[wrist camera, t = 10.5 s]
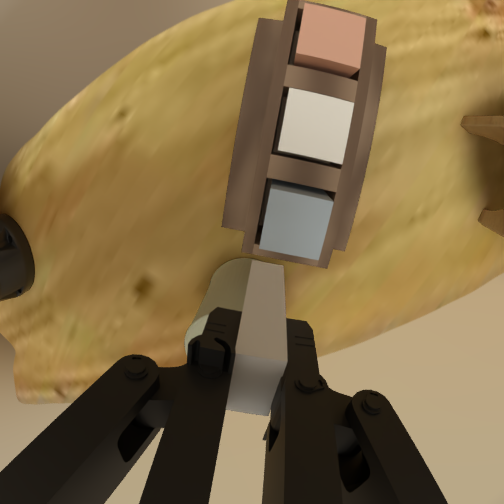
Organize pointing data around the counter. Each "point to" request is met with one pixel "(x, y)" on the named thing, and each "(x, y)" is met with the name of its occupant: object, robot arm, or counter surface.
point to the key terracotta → (330, 41)
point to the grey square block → (296, 219)
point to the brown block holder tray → (270, 125)
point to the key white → (316, 125)
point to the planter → (499, 131)
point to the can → (222, 293)
